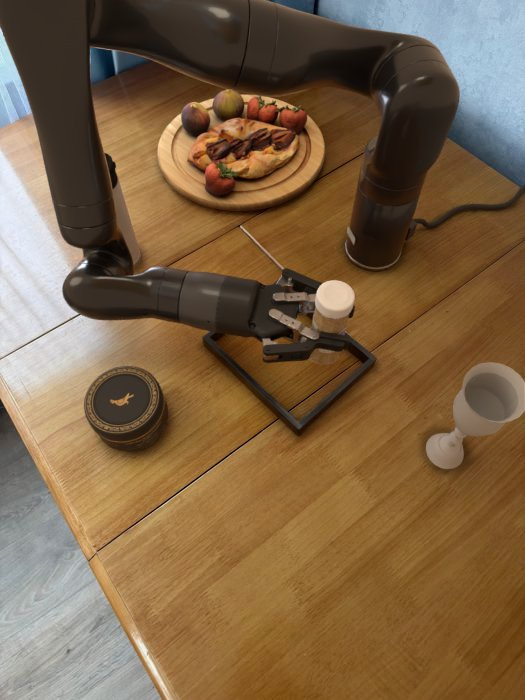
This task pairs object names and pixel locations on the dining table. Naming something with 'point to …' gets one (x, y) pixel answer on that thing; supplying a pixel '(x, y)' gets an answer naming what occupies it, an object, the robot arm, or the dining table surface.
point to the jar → (126, 408)
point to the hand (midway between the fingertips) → (350, 327)
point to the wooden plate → (241, 152)
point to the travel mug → (123, 213)
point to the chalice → (479, 410)
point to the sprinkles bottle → (331, 315)
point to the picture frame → (270, 402)
